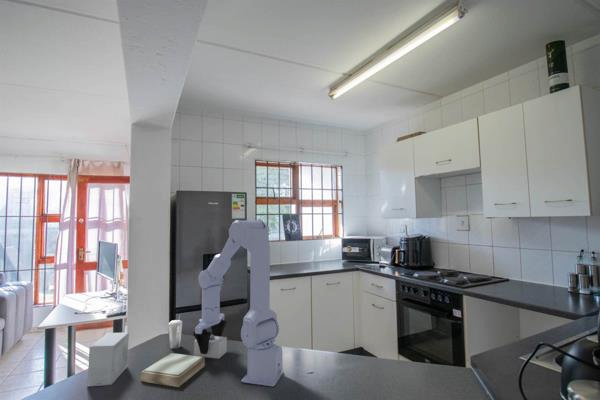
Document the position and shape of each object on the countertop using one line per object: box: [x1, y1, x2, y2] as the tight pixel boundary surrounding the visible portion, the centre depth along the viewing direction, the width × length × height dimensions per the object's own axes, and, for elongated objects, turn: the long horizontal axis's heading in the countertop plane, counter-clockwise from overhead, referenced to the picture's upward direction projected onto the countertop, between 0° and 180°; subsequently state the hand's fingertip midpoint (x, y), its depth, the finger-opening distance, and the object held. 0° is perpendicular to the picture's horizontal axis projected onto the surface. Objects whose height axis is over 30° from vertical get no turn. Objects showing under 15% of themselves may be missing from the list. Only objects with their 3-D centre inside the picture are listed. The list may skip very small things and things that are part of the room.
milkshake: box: [168, 314, 183, 350], centre depth 106 cm, size 5×5×10 cm
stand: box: [140, 352, 206, 388], centre depth 87 cm, size 12×12×3 cm
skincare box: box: [86, 331, 130, 388], centre depth 86 cm, size 10×6×10 cm, turn 9°
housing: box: [193, 334, 228, 360], centre depth 100 cm, size 9×5×6 cm, turn 75°
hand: (210, 348), depth 100 cm, fingers open, 7 cm apart
